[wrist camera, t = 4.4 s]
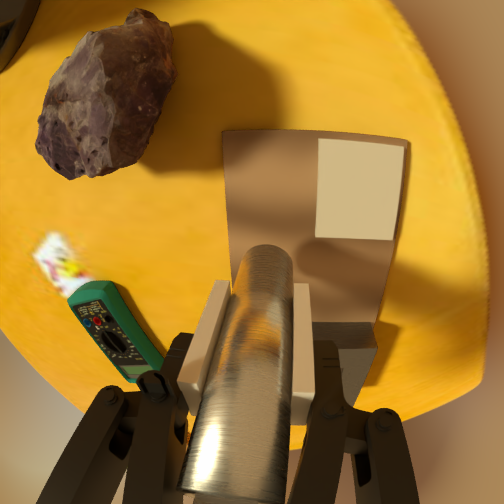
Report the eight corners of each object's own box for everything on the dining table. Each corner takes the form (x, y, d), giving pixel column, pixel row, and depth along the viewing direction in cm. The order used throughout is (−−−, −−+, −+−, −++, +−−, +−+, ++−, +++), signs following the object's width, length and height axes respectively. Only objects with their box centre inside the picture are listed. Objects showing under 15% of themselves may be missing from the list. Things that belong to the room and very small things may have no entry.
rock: (83, 114, 19) (149, 184, 22) (8, 139, 13) (78, 233, 15) (152, 6, 13) (242, 76, 16) (68, -12, 6) (177, 69, 9)
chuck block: (262, 319, 25) (258, 346, 22) (370, 321, 23) (377, 348, 20) (263, 383, 29) (259, 407, 26) (349, 384, 28) (351, 408, 25)
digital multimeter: (111, 272, 26) (97, 288, 24) (177, 369, 32) (170, 387, 29) (74, 285, 28) (60, 299, 25) (136, 371, 34) (128, 386, 31)
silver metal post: (239, 243, 17) (151, 514, 4) (294, 244, 17) (284, 536, 4) (242, 288, 19) (183, 523, 6) (292, 289, 19) (278, 536, 5)
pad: (318, 138, 17) (319, 138, 16) (400, 146, 16) (404, 146, 16) (314, 233, 20) (315, 237, 20) (390, 236, 19) (392, 240, 19)
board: (223, 130, 18) (222, 131, 18) (404, 139, 16) (407, 140, 16) (242, 377, 30) (241, 381, 30) (352, 380, 28) (353, 384, 28)
